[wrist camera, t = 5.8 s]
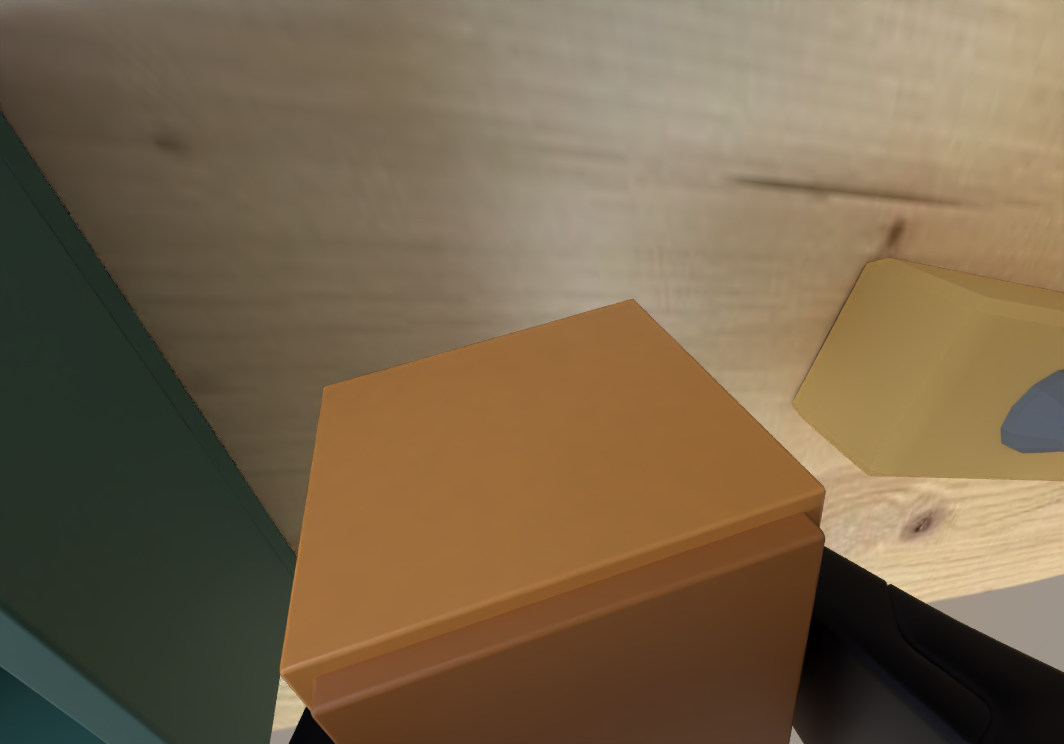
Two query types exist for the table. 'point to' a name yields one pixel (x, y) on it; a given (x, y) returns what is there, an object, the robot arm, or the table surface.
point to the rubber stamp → (942, 376)
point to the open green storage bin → (117, 515)
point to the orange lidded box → (552, 549)
